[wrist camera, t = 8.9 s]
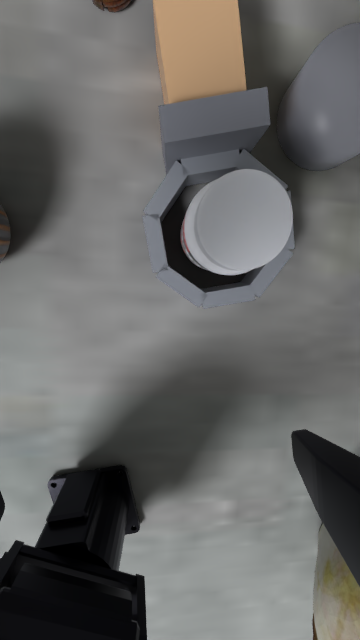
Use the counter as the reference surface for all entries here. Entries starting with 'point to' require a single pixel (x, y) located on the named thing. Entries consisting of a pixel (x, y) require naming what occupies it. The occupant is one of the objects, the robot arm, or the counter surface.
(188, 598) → the counter surface
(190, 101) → the octagonal ring stamp
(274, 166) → the counter surface
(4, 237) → the vase
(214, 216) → the pill bottle
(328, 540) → the sugar bowl
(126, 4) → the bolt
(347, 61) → the grey rounded lump
